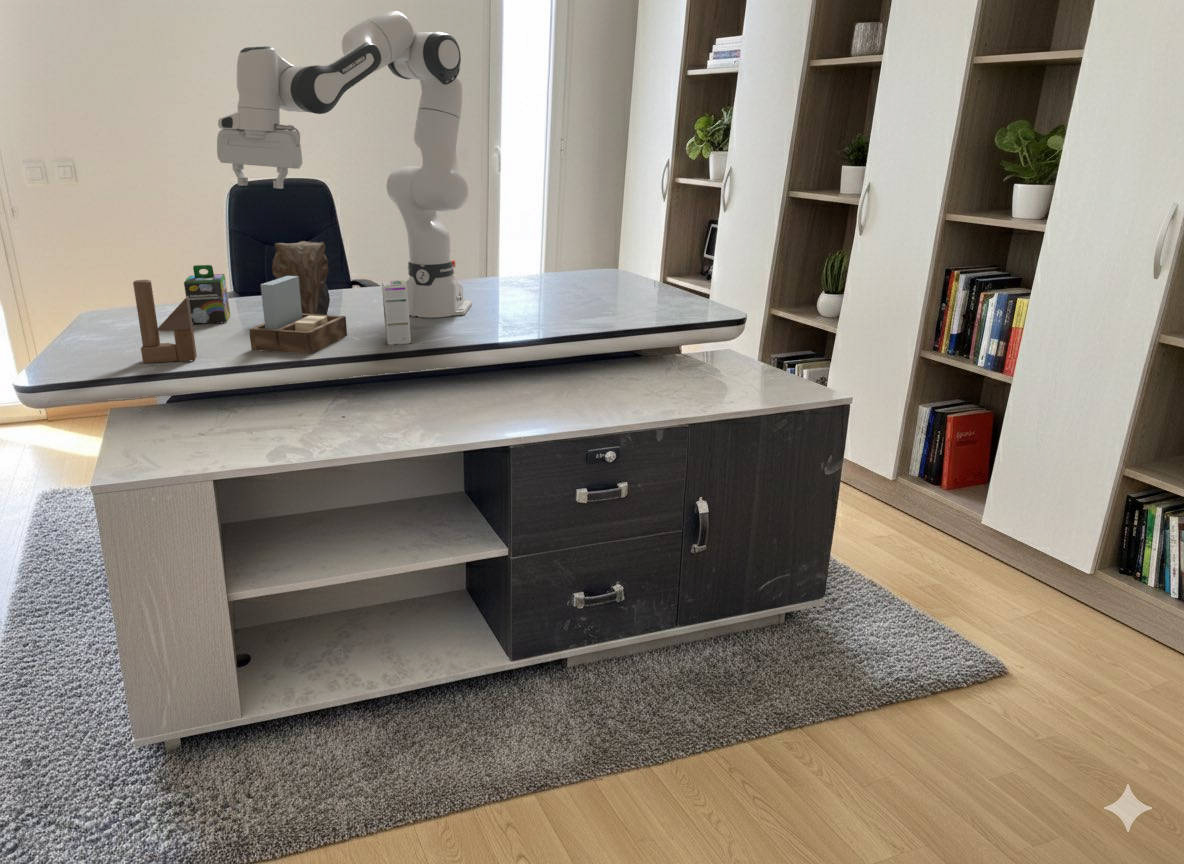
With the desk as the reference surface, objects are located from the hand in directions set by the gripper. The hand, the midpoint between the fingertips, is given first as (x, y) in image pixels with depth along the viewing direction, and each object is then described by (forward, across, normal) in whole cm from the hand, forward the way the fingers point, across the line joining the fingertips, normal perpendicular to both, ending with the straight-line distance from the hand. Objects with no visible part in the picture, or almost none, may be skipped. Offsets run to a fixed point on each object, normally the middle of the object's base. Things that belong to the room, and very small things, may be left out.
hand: (260, 186), depth 211 cm
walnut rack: (+36, -6, -6) cm, 37 cm away
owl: (+35, +8, -28) cm, 46 cm away
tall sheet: (+36, -2, -5) cm, 37 cm away
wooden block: (+39, +12, +18) cm, 44 cm away
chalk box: (+36, +30, -18) cm, 51 cm away
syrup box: (+35, -28, -14) cm, 47 cm away
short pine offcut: (+32, -9, -6) cm, 34 cm away
